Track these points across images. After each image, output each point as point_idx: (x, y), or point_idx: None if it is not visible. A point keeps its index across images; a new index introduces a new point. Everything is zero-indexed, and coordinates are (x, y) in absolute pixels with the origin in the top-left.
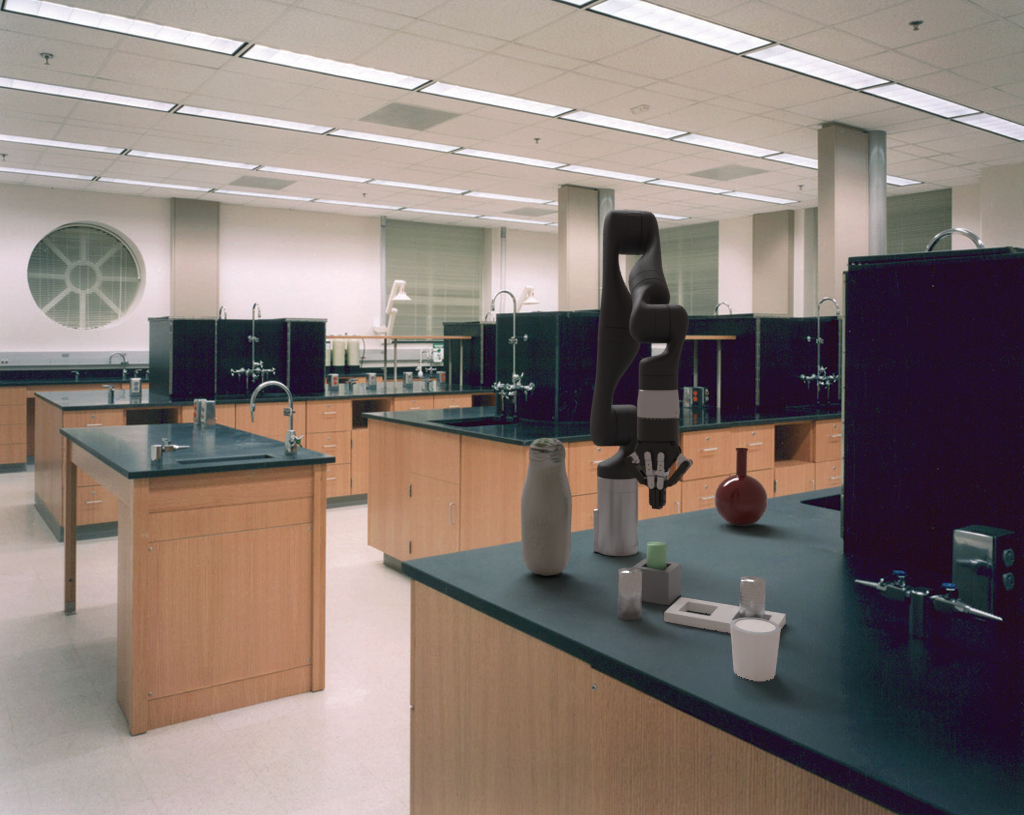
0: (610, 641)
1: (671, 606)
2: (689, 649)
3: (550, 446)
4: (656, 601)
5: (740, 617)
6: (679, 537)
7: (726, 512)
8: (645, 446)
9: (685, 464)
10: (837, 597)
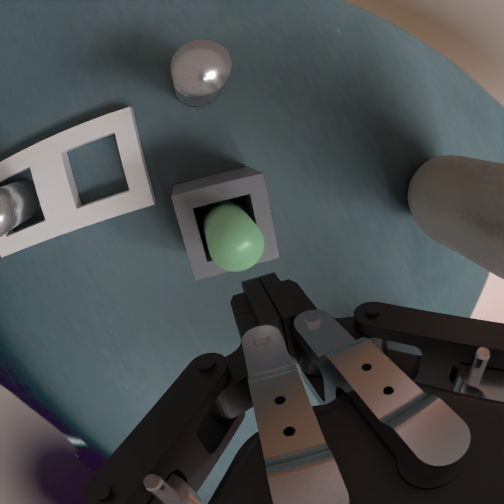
0: None
1: (136, 142)
2: (48, 47)
3: None
4: (197, 179)
5: (24, 185)
6: None
7: None
8: (490, 482)
9: (97, 488)
10: (46, 387)
